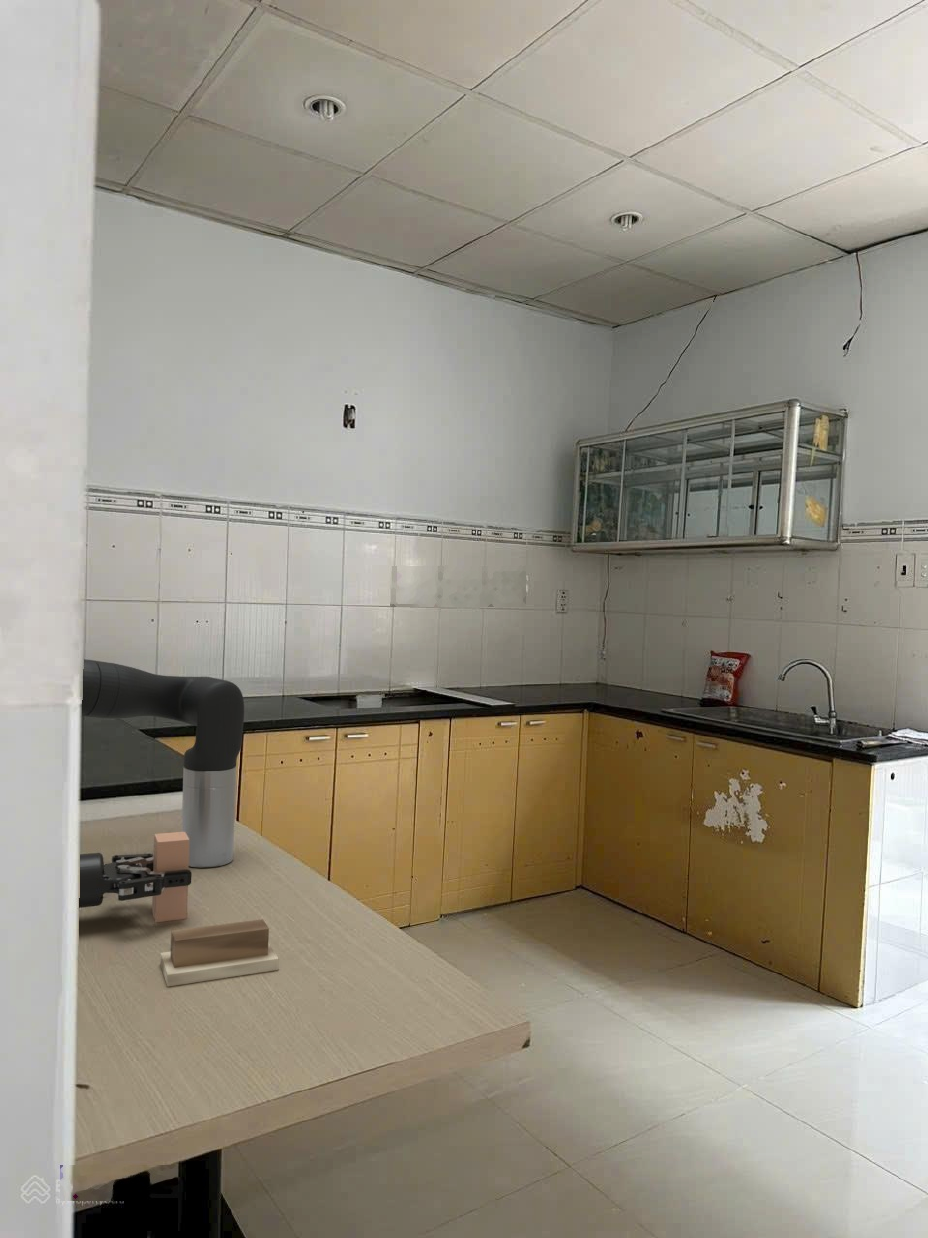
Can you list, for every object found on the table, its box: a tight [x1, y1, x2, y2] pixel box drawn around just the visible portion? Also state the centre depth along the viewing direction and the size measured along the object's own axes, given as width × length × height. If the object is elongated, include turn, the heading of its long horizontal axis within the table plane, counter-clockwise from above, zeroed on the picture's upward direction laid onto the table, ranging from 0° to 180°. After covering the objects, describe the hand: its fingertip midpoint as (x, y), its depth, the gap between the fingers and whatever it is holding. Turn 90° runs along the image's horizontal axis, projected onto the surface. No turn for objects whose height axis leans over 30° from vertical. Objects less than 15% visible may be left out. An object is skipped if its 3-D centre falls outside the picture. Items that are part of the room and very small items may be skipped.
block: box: [151, 831, 190, 923], centre depth 133 cm, size 4×4×12 cm
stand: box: [160, 918, 280, 987], centre depth 117 cm, size 7×14×5 cm, turn 116°
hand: (187, 870), depth 134 cm, fingers open, 6 cm apart
